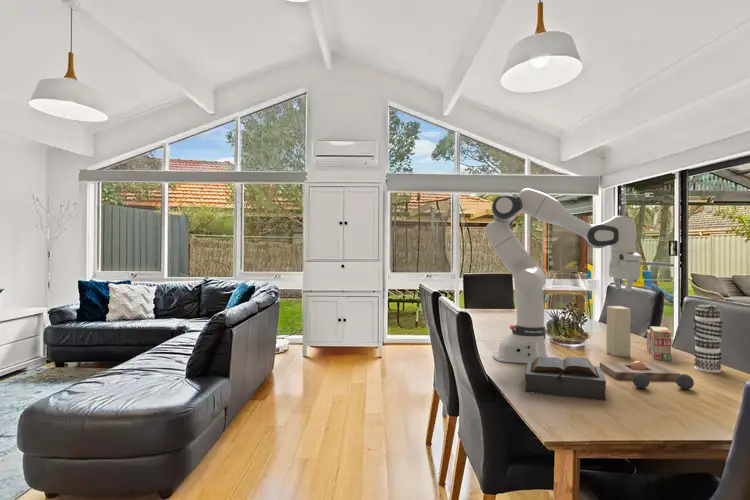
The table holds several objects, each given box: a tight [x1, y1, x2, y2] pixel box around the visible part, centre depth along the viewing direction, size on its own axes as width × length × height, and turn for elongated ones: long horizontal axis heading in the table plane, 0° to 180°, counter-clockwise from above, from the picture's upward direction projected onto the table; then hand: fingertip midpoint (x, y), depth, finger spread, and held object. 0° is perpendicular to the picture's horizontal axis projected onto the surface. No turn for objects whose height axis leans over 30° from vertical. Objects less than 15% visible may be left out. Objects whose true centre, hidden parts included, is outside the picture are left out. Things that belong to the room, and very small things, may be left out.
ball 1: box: [631, 373, 651, 389], centre depth 152 cm, size 5×5×5 cm
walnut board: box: [599, 361, 681, 381], centre depth 168 cm, size 22×14×2 cm, turn 85°
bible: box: [524, 356, 607, 401], centre depth 152 cm, size 23×27×10 cm
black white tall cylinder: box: [692, 304, 723, 374], centre depth 174 cm, size 9×9×25 cm
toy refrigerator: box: [606, 305, 632, 357], centre depth 199 cm, size 8×7×21 cm
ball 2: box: [675, 373, 695, 390], centre depth 150 cm, size 5×5×5 cm
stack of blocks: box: [646, 325, 672, 362], centre depth 199 cm, size 21×6×12 cm, turn 156°
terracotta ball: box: [631, 360, 646, 370], centre depth 168 cm, size 5×5×5 cm
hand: (623, 289), depth 182 cm, fingers open, 8 cm apart
